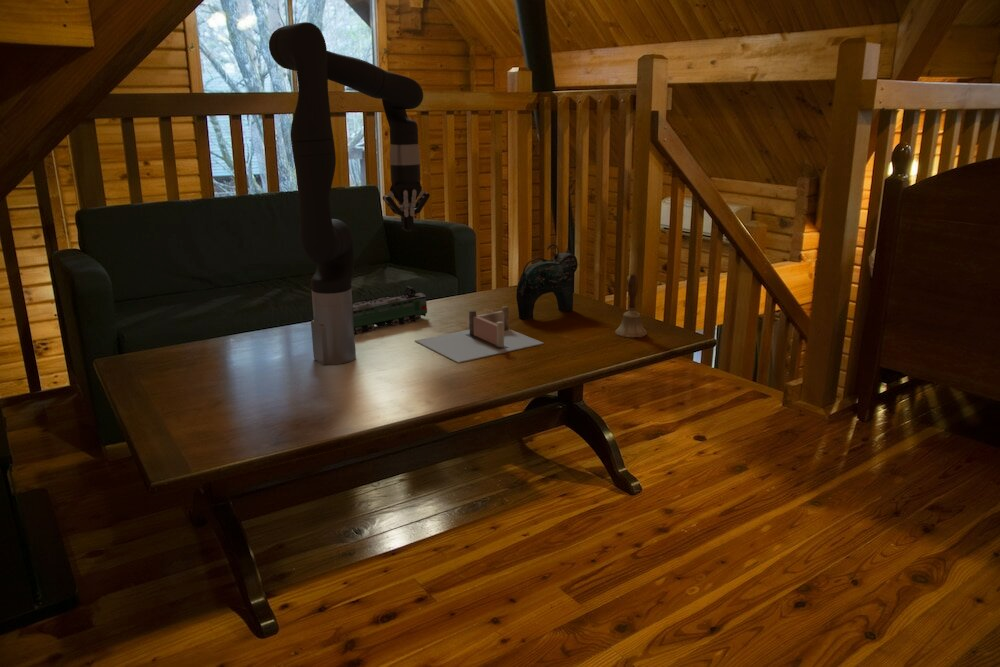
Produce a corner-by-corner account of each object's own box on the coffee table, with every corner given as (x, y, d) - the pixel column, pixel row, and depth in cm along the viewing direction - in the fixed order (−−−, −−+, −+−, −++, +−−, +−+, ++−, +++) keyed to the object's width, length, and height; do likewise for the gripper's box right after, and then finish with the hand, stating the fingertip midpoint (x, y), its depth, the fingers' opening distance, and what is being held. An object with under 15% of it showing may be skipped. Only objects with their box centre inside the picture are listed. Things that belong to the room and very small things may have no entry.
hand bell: (647, 338, 203) (651, 278, 198) (615, 337, 204) (617, 277, 199) (645, 329, 211) (648, 271, 206) (614, 328, 212) (617, 270, 207)
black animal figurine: (567, 306, 234) (568, 239, 228) (581, 311, 229) (583, 243, 223) (513, 316, 223) (513, 247, 217) (526, 322, 218) (526, 251, 212)
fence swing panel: (472, 335, 204) (472, 313, 202) (478, 334, 205) (478, 311, 203) (499, 347, 194) (499, 324, 192) (505, 346, 195) (505, 322, 193)
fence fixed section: (471, 336, 204) (471, 312, 202) (468, 335, 205) (467, 311, 204) (509, 328, 211) (509, 305, 209) (506, 327, 212) (505, 304, 210)
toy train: (432, 319, 222) (430, 284, 219) (332, 340, 203) (329, 302, 200) (422, 316, 225) (421, 281, 223) (323, 336, 207) (320, 299, 204)
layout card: (458, 363, 185) (458, 361, 185) (415, 341, 201) (415, 340, 201) (543, 344, 199) (543, 342, 199) (496, 325, 215) (496, 323, 215)
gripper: (388, 165, 191) (391, 235, 196) (435, 162, 198) (437, 230, 203) (374, 163, 197) (378, 231, 202) (420, 160, 204) (423, 226, 209)
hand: (407, 230), depth 203 cm, fingers closed
